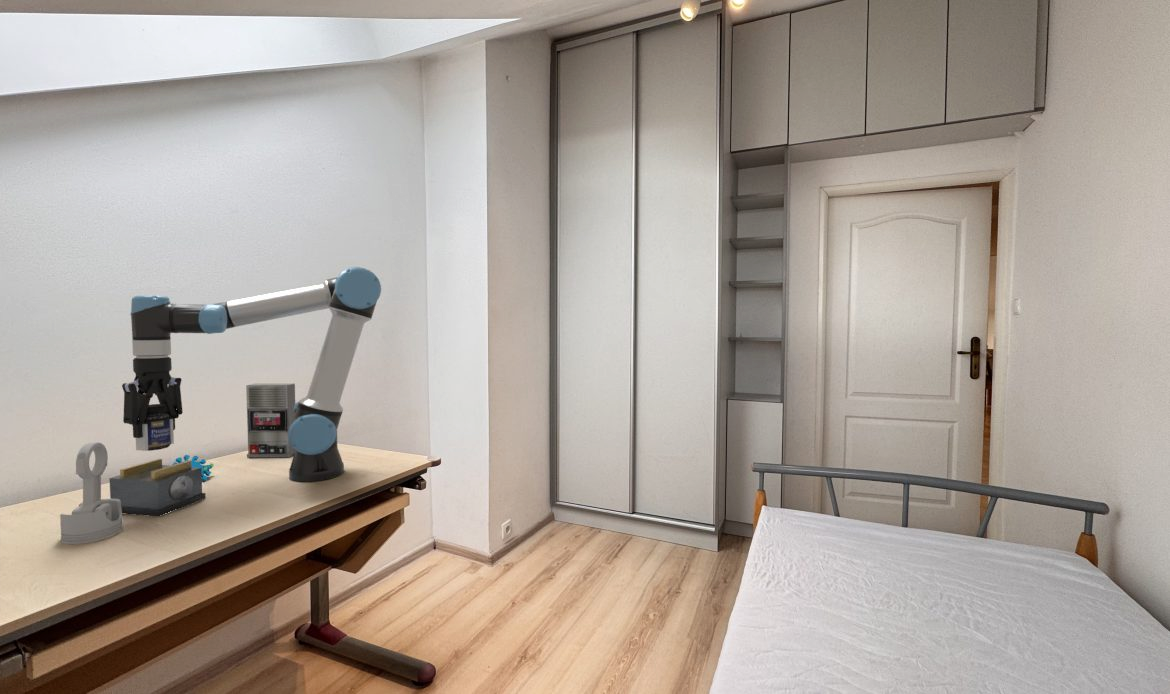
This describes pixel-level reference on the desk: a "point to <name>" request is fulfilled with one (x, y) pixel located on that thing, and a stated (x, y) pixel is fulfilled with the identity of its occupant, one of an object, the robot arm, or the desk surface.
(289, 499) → the desk surface
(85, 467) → the engine component
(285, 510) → the desk surface
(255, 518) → the desk surface
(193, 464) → the blue spiky rounded piece
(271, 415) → the grey cassette player
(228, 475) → the desk surface
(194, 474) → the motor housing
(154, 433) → the pill bottle
